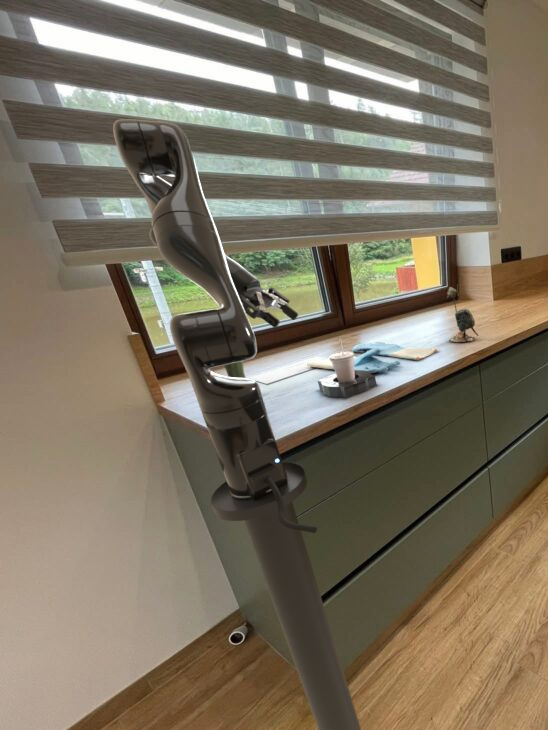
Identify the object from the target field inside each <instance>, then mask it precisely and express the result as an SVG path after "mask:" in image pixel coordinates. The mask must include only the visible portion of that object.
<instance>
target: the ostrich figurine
mask: <svg viewBox="0 0 548 730" xmlns="http://www.w3.org/2000/svg"><path fill="white" fill-rule="evenodd" d="M457 292H458V291H457V289H456V288H454V287H453V286H450V287H448V289H447V292H446V295H447V296H446V299H448V298H452V302H453V304H454V309H455V313H454V317H455V320H456V321H455V322H456V326H457V328H458V331H457V334H455V335H453V337H451V338H450V339H448V341H449V342H454V343H455V342H456V343H464V342H465V343H466V342H473V341H474V340H475V337H474V336H472V335H468V333H467V330H469V329H471V330H472V332H473V333H474V334H475V335H476V336H477V337H479V335H480V334H478V332H476V330H475V328H474V327H475V325H476V321H475V318H474V316H473V313H472V312H471V311H470V310H469V309H468V308H463V309H459V310H458V309H457V305H456V300H455V298H456V296H457Z"/></svg>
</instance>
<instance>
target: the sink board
mask: <svg viewBox="0 0 548 730" xmlns="http://www.w3.org/2000/svg"><path fill="white" fill-rule="evenodd" d="M354 373H355V380H353V381H349V382H343V383H339V381H338V378H337V376H336V373H333V374H331V375H328V376H325V377H324V378H321V379H318V380H317V385H318V389H319V391H320V392H322V393H323V394H324V396H326V397H329V398H344V399H348V398H350V397H352V396H355V395H359V394H361V393H364V392H366V391H368V390H370V389H372V388H375V387H377V385H378V384H377V380H376V378H377V377H376V375H374V374H372V373H370V372H368V371H364V370H354Z"/></svg>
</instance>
